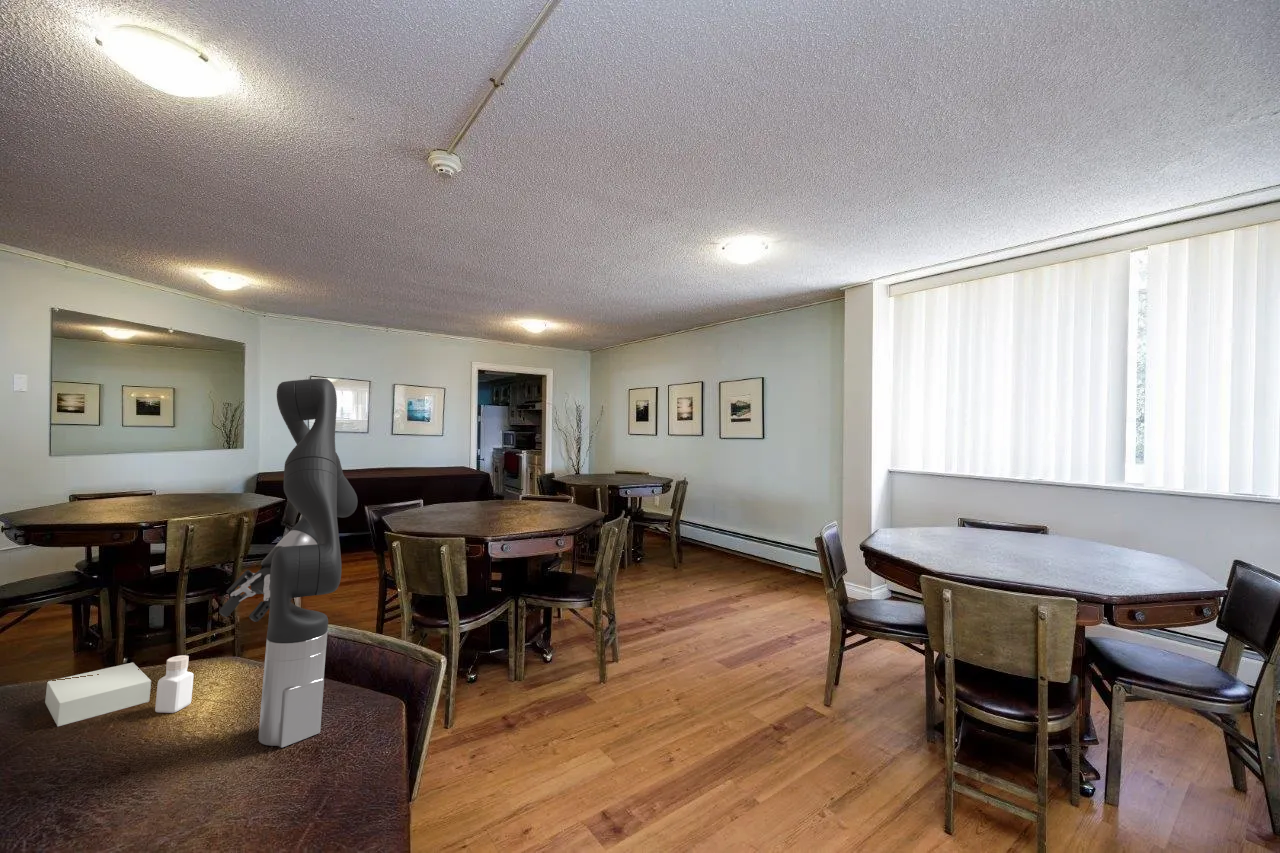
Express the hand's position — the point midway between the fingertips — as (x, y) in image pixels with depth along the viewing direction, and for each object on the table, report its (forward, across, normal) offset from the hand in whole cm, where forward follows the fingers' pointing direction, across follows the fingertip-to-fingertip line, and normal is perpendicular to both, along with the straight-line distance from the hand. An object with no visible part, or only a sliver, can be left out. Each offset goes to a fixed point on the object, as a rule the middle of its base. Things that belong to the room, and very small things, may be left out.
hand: (237, 617), depth 109 cm
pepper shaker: (+18, 0, +2) cm, 18 cm away
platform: (+20, -16, 0) cm, 25 cm away
